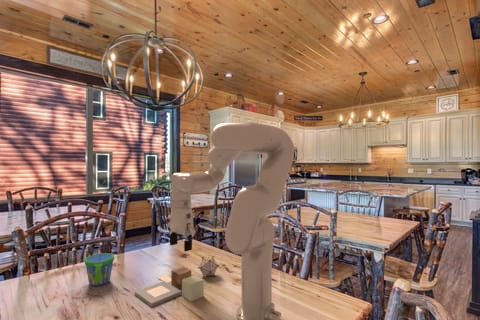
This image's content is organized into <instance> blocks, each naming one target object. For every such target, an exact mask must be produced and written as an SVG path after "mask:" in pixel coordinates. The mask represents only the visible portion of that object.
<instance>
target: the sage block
mask: <svg viewBox="0 0 480 320" xmlns="http://www.w3.org/2000/svg"><path fill="white" fill-rule="evenodd" d="M204 282H205V281H204V278H201V277H199V276H197V275H191V277H188V278H186V279H183V280H182V289H181V291H182V294H181V297H183V298H184V299H186V300H188V301H189V302H194V301H196V300H198V299H201V298H202V297H204V292H205V291H204V289H205V288H204Z"/></svg>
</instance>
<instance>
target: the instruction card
mask: <svg viewBox="0 0 480 320" xmlns="http://www.w3.org/2000/svg"><path fill="white" fill-rule="evenodd" d="M157 279H158V280H160V281H161V282H163V281H165V282H167V283H168V284H171V272H170V273H168V274H165V275H162V276H159V277H157Z"/></svg>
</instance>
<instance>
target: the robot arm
mask: <svg viewBox="0 0 480 320" xmlns="http://www.w3.org/2000/svg"><path fill="white" fill-rule="evenodd" d="M210 139H211V140H210V141H211V144H212V145H213V146H212V147H211V148H210V149H209V150H208V152H207V160H208V162H209V163H210V164H211V166H210V167H209V169H207V171H205V172H190V173H189V172H174V173H173V174H172V175H171V192H170V193H171V196H170V197H171V203H170V204H171V207H170V208H171V209H170V217H169V221H168V222H167V229H168V232H169V233H168V234H169V245H170V246H175V245H177V244H178V234H179V235H182V236H183V238H184V239H185V240H184V241H183V243H184V245H183V246H184V247H183V248H184V249H183V250H184V252H189V251H192V250H193V240H194V237H195V235H196V229H195V227H194V213H193V208H192V194H199V193H204V192H209V191H212V190H213V189H215V188H216V187H217V186H218V185H219V184H220V183H221V182H222V181H223V180H224V178H225V176H226V174H227V168H228V167H229V166H230V165H231V164H233V162H234V161H235V160H236V159H237V158H238V157H239V156H240V155H241V154H242V153H249V154H250V153H252V154H267V156H266V159H265V160H264V161H263V163H262V165H261V167H260V169H259V173H258V177H257V179H256V182H255V184H253V185H247V186H245V187H242V188H241V189H240V190H239V191H238V192H237V193H236V195H235V197H234V199H233V200H232V201H233V202H232V205H231V209H230V213H229V216H228V220H227V224H226V228H225V232H224V233H225V234H224V237H225V238H224V240H225V244H226V246H227V248H228V249H229V251H230V252H232V253H233V254H236V255H241V297H240V299H241V301H240V302H241V304H240V306H238V308H237V309H236V319H237V320H281V316H282V312H279V310H278V311H277V310H276V309H275V303H274V302H272V301H273V299H272V296H273V295H272V293H273V291H272V290H273V289H272V287H273V286H272V284H273V283H272V282H273V281H272V276H273V272H272V271H273V270H272V267H273V266H272V265H273V264H272V263H273V249H274V248H273V247H274V241H275V234H276V233H275V226H274V224H273V222H272V221H271V219H270V218H269V217H268V216H270V215H272V214H274V213H275V212H276V211H278V209H279V206H280V203H281V200H282V197H283V194H284V192H285V191H284V190H285V187H286V184H287V179H288V177H289V174H290V171H291V169H292V164H293V162H294V156H295V146H294V142H293V140H292V138H291V137H290V135H289V134H288V133H287V132H286V131H284V130H283V129H282V128H279V127H277V126H274V125H270V124H263V123H257V122H223V123H222V122H221V123H219V124H217V125H216V126H215V127H214V128H213V130H212V131H211V135H210Z"/></svg>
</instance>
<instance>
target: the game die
mask: <svg viewBox="0 0 480 320" xmlns="http://www.w3.org/2000/svg"><path fill="white" fill-rule="evenodd" d="M214 257H215V255H212V256H210V257H203V256H201V259H202V260H201V262H200V264H199V266H198V267H197V269H199V271H200V272H201V274H202V275H203V276H202V279H204V278H205V277H207V276H213V277H216V272H217V269H218V267H220V264H218V263H217V262H216V260H215V258H214Z"/></svg>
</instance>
